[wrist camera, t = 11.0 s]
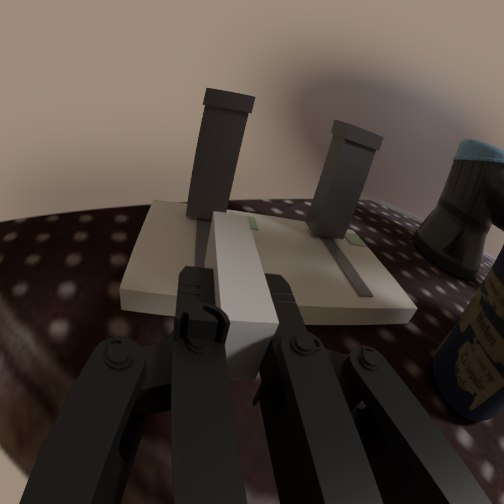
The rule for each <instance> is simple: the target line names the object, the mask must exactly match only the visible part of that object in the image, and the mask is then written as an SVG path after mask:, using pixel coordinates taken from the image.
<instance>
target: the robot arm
mask: <svg viewBox="0 0 504 504" xmlns="http://www.w3.org/2000/svg"><path fill="white" fill-rule="evenodd" d="M453 161H454V162H453V165H452V167H451V170H450V173H449V176H448V178H447V181H446V183H445V186H444V189H443V191H442V193H441V196H440V199H439V201H438V203H437V206H436V208H435V209H434V210H433V211H432V212H431V214H430V215H429V216H428V217H427V218H426V219H425V221H424V222H423V223H422V225H421V226H419V227H418V228H417V230H416V232H415V234H414V236H413V238H412V241H413V243H414V245H415V246H416V247H417V249H418V250H419V251H420V252H421V253H422V254H424V255H425V256H426V257H427V258H428V259H430V260H431V261H432V262H433V263H435V264H436V265H438V266H439V267H441V268H442V269H444V270H446V271H447V272H449V273H451V274H453V275H455V276H457V277H460V278H462V279H466V280H472V279H474V277H475V275H476V274H477V272H478V270H479V267H480V263H481V258H482V254H483V249H484V243H485V239H486V236H487V234H488V231H489V229H490V227H491V225H492V224H493V225H495V226H496V227H498V228H499V229H501V230H502V231H504V151H503V150H501V149H499V148H497V147H495V146H492V145H490V144H487V143H484V142H481V141H477V140H472V139H465V140H463V141H461V143H460V144H459V147H458V150H457V152H456V155H455V157H454V158H453ZM258 372H260V377H261V384H260V386H259V388H258V391H257V393H256V395H255V397H254V399H253V405H256V404H257V402H258V401H260V407H261V412H262V417H263V422H264V427H265V432H266V437H267V442H268V447H269V452H270V457H271V462H272V467H273V472H274V477H275V482H276V486H277V491H278V496H279V500H280V504H492V503H491V502H490V500H489V499H488V497H487V496H486V494H485V493H484V491H483V490H482V488H481V487H480V485H479V484H478V482H477V481H476V479H475V478H474V476H473V475H472V474H471V472H470V471H469V469H468V468H467V466H466V465H465V464H464V462H463V461H462V459H461V458H460V456H459V455H458V454H457V452H456V451H455V449H454V448H453V447H452V445H451V444H450V443H449V441H448V440H447V438H446V437H445V436H444V434H443V433H442V432H441V430H440V429H439V428H438V426H437V425H436V424H435V422H434V421H433V420H432V418H431V417H430V416H429V414H428V413H427V412H426V410H425V409H424V408H423V406H422V405H421V404H420V402H419V401H418V400H417V398H416V397H415V396H414V395H413V393H412V392H411V391H410V389H409V388H408V387H407V386H406V384H405V383H404V382H403V380H402V379H401V378H400V377H399V375H398V374H397V373H396V371H395V370H394V369H393V368H392V366H391V365H390V364H389V363H388V361H387V360H386V359H385V358H384V356H383V355H382V354H381V353H380V352H378V351H377V350H375V349H374V348H372V347H369V346H365V345H362V346H357V347H355V348H353V349H352V351H351V352H350V354H349V355H348V354H344V353H340V352H336V351H331V350H328V349H326V348H325V347H324V345H323V343H322V342H321V340H320V339H319V338H318V337H316V336H315V335H314V334H312V333H310V332H308V331H307V329H306V326H305V323H304V321H303V318H302V316H301V313H300V311H299V308H298V305H297V303H296V300H295V298H294V295H293V293H292V290H291V288H290V285H289V283H288V282H287V281H286V280H285V279H284V278H283V277H282V276H281V275H279V274H269V273H264V271H263V268H262V265H261V261H260V258H259V255H258V251H257V248H256V245H255V242H254V238H253V235H252V232H251V228H250V225H249V222H248V219H247V216H245V215H238V214H231V213H224V212H216V211H213V217H212V222H211V228H210V234H209V239H208V245H207V251H206V257H205V268H202V267H193V266H185V267H184V268H183V270H182V271H181V272H180V273H179V279H178V289H177V300H176V312H175V322H174V330H173V332H172V333H171V335H170V336H169V337H168V338H167V339H166V340H164V341H162V342H160V343H157V344H153V345H148V346H141V347H140V346H139V345H138V343H137V342H135V341H133V340H131V339H129V338H125V337H119V336H118V337H110V338H107V339H105V340H103V341H101V342H100V343H99V344H98V345H97V346H96V347H95V349H94V350H93V352H92V354H91V355H90V357H89V359H88V361H87V362H86V364H85V366H84V368H83V369H82V371H81V373H80V375H79V376H78V378H77V380H76V382H75V384H74V385H73V387H72V389H71V391H70V393H69V395H68V396H67V398H66V400H65V402H64V404H63V406H62V408H61V410H60V412H59V414H58V416H57V418H56V420H55V422H54V424H53V426H52V428H51V430H50V432H49V434H48V436H47V438H46V440H45V443H44V445H43V447H42V449H41V451H40V454H39V456H38V458H37V460H36V463H35V465H34V467H33V470H32V472H31V475H30V477H29V480H28V482H27V485H26V487H25V490H24V492H23V495H22V498H21V501H20V503H19V504H120V503H121V500H122V496H123V493H124V490H125V487H126V483H127V480H128V477H129V474H130V470H131V467H132V464H133V461H134V458H135V455H136V452H137V449H138V446H139V443H140V440H141V437H142V434H143V431H144V428H145V425H146V422H147V419H148V416H149V414H154V413H159V412H164V411H168V410H171V453H172V479H173V496H174V504H247V499H246V493H245V487H244V481H243V475H242V469H241V462H240V456H239V449H238V443H237V436H236V429H235V422H234V414H233V407H232V399H231V392H230V384H229V379H232V380H255V379H256V376H257V374H258ZM361 401H363V402H364V404H365V405H366V407H364V406H361V404H360V402H361Z"/></svg>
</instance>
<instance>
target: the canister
mask: <svg viewBox="0 0 504 504" xmlns="http://www.w3.org/2000/svg"><path fill="white" fill-rule="evenodd" d="M433 374H434V378H435V382H436V384H437V387H438V389H439V391H440V393H441V395H442V396H443V398H444V399H445V401H446V402H447V403H448V404H449V405H450V407H451V408H452V409H453V410H455V411H456V412H457V413H458V414H460V415H461V416H463V417H464V418H467V419H469V420H473V421H484V420H488V419H490V418H492V417H494V416H495V415H496V414H497V413H499V412H500V411H501V410H502V409H503V408H504V245H503V247H502V249H501V251H500V253H499V255H498V257H497V259H496V261H495V263H494V264H493V266H492V268H491V269H490V271H489V273H488V275H487V276H486V278H485V280H484V281H483V283H482V284H481V286H480V287H479V289H478V291H477V292H476V294H475V295H474V297H473V299H472V300H471V302H470V303H469V305H468V306H467V308H466V309H465V311H464V312H463V314H462V315H461V317H460V318H459V320H458V321H457V323H456V324H455V326H454V327H453V328H452V330H451V331H450V332H449V334H448V335H447V336H446V338H445V339H444V340H443V342H442V343H441V344H440V346H439V347H438V349H437V351H436V353H435V355H434V359H433Z"/></svg>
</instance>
